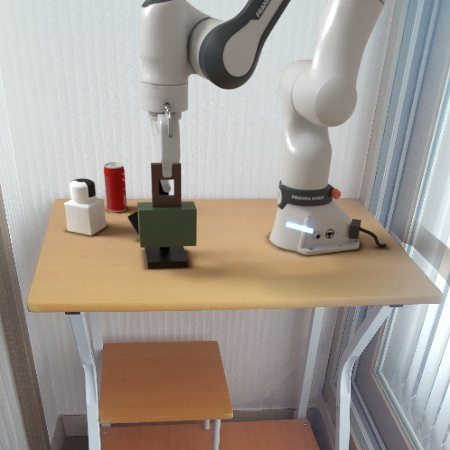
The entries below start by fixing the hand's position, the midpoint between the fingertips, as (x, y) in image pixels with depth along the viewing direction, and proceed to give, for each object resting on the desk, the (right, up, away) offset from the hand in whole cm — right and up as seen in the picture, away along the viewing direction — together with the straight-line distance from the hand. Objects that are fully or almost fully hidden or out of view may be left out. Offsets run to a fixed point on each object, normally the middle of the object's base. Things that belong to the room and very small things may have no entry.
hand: (166, 174), depth 118 cm
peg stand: (-2, -13, +17) cm, 21 cm away
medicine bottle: (-23, -3, +30) cm, 38 cm away
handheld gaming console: (-5, -4, +29) cm, 30 cm away
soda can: (-18, +6, +42) cm, 46 cm away
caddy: (-1, -11, +9) cm, 14 cm away
